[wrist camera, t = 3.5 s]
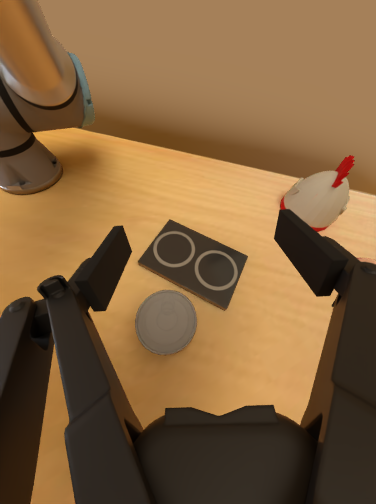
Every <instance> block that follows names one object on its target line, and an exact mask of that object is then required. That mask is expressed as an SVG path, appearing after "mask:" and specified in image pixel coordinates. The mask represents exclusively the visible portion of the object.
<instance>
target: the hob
mask: <svg viewBox="0 0 376 504" xmlns="http://www.w3.org/2000/svg"><path fill="white" fill-rule="evenodd" d="M247 258H248V256H247V255H244V254H242V253H240V252H238V251H236V250H234V249H232V248H230V247H228V246H225V245H223V244H221V243H219V242H217V241H215V240H213V239H211V238H208V237H206V236H204V235H202V234H200V233H198V232H196V231H194V230H191V229H189V228H187V227H185V226H183V225H181V224H179V223H177V222H174V221H172V220H169V221H168V222H167V224H166V225H165V226H164V227H163V229H162V230H161V231H160V233H159V234H158V235H157V237H156V238H155V239H154V241H153V242H152V243H151V245H150V246H149V247H148V249H147V250H146V251H145V253H144V254H143V255H142V257H141V258H140V259H139V260H138V264H139V265H140V266H142V267H144V268H146V269H148V270H150V271H151V272H153V273H155V274H157V275H159V276H161V277H163V278H164V279H166V280H168V281H170V282H172V283H174V284H176V285H178V286H179V287H181V288H183V289H185V290H187V291H189V292H191V293H192V294H194V295H196V296H198V297H200V298H202V299H204V300H205V301H207V302H209V303H211V304H213V305H215V306H217V307H218V308H220V309H222V310H224V311H225V310H226V309H227V308H228V305H229V303H230V300H231V298H232V295H233V293H234V290H235V288H236V285H237V283H238V280H239V278H240V275H241V273H242V270H243V268H244V265H245V263H246V260H247Z"/></svg>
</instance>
